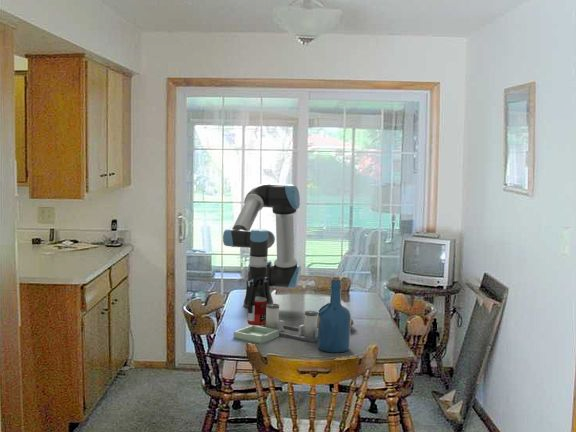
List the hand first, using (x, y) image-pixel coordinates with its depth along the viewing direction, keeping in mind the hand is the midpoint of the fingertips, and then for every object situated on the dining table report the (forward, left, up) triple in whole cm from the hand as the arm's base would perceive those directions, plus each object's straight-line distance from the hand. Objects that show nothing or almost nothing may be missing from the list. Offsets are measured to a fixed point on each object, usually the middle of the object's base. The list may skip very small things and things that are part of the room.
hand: (256, 318), depth 294 cm
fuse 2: (+18, +15, -8) cm, 25 cm away
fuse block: (+8, +15, -8) cm, 19 cm away
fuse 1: (-2, +15, -8) cm, 17 cm away
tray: (0, 0, -8) cm, 8 cm away
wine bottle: (+34, +6, -8) cm, 35 cm away
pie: (+17, +34, -9) cm, 39 cm away
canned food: (0, 0, -2) cm, 2 cm away
